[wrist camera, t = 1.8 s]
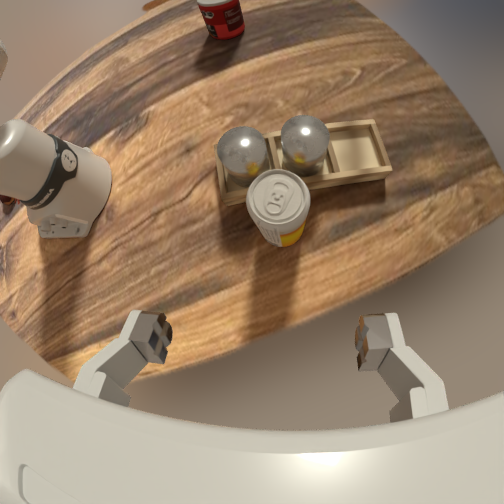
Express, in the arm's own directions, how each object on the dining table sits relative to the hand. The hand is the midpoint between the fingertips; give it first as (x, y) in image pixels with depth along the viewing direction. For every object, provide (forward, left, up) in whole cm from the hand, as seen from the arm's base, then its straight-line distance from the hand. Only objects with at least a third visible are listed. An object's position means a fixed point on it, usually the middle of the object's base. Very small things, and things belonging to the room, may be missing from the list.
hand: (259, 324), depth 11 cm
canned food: (0, +55, -28) cm, 62 cm away
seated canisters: (+3, +18, -26) cm, 32 cm away
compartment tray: (+7, +18, -28) cm, 34 cm away
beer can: (+2, +9, -28) cm, 30 cm away
